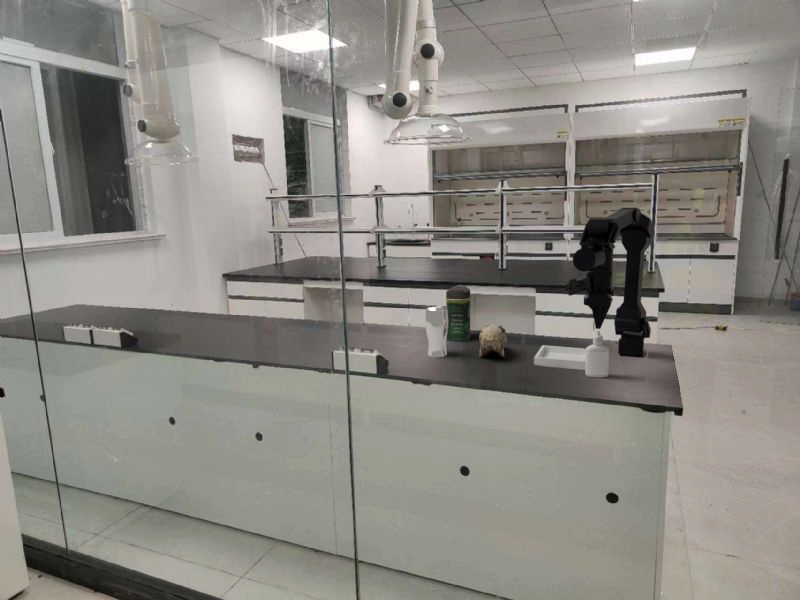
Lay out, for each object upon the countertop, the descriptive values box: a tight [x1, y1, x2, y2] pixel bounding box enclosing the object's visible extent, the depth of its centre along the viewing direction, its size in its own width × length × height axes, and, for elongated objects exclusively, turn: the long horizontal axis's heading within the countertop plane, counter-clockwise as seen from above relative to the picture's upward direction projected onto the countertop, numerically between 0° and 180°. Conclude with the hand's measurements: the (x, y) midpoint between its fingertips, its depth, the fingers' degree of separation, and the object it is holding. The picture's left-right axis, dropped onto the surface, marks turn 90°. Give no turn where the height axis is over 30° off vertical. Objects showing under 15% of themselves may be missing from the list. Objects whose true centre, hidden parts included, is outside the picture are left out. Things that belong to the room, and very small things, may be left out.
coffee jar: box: [445, 285, 471, 343], centre depth 182 cm, size 10×8×19 cm
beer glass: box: [424, 305, 448, 358], centre depth 163 cm, size 7×7×15 cm
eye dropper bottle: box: [584, 330, 610, 379], centre depth 141 cm, size 4×6×12 cm
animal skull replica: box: [478, 324, 508, 359], centre depth 163 cm, size 8×17×10 cm, turn 161°
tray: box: [533, 344, 586, 371], centre depth 156 cm, size 14×14×2 cm
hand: (598, 327), depth 141 cm, fingers open, 3 cm apart
